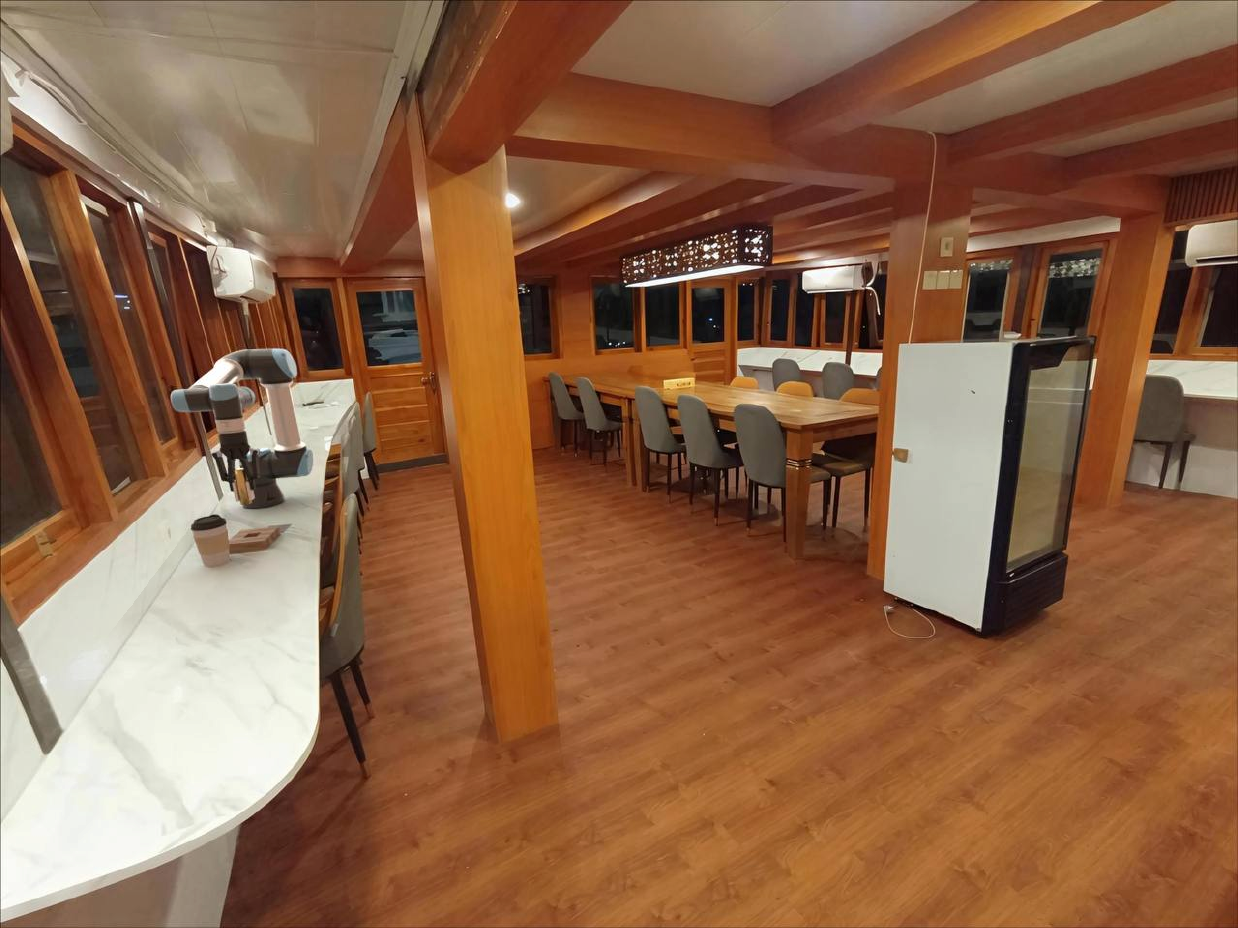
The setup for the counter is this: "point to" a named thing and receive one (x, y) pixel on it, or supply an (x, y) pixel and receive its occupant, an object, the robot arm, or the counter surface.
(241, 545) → the hole block
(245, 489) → the peg
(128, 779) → the counter surface
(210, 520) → the coffee cup
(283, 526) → the mat
